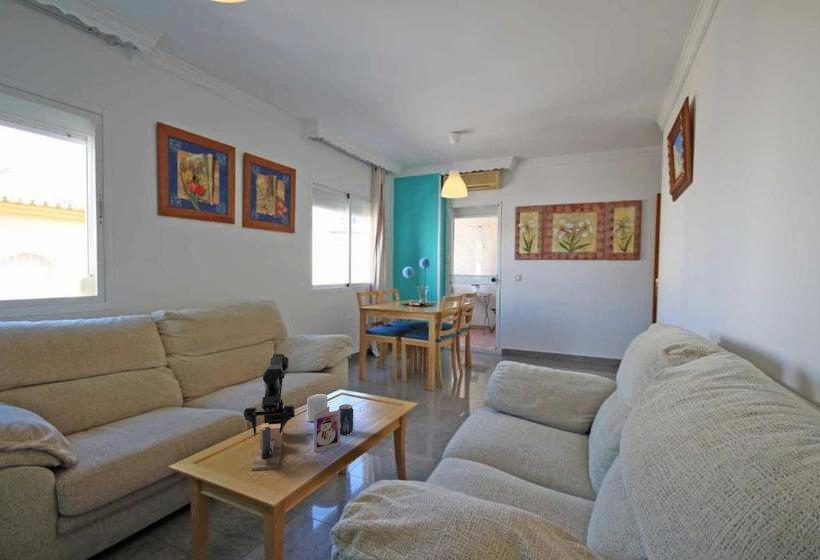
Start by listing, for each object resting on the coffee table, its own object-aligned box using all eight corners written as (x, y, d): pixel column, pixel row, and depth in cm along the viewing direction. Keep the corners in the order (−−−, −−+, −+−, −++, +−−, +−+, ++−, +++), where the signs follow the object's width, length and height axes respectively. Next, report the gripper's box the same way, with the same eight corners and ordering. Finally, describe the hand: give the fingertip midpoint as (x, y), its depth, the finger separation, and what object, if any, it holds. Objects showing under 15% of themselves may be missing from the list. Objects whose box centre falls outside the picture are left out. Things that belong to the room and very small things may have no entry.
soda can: (347, 428, 177) (347, 402, 177) (356, 432, 172) (356, 406, 172) (334, 432, 172) (335, 406, 172) (343, 437, 167) (344, 410, 167)
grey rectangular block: (264, 449, 152) (264, 439, 152) (275, 448, 153) (275, 438, 153) (261, 459, 144) (261, 448, 144) (272, 458, 145) (273, 447, 145)
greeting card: (314, 452, 152) (315, 416, 152) (307, 445, 158) (308, 410, 158) (340, 445, 159) (341, 410, 159) (333, 439, 165) (333, 405, 165)
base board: (260, 445, 157) (260, 443, 157) (283, 444, 159) (283, 441, 159) (251, 470, 138) (251, 467, 138) (277, 468, 140) (277, 465, 140)
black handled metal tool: (268, 443, 156) (268, 413, 156) (275, 442, 157) (275, 413, 156) (261, 462, 140) (261, 430, 140) (269, 462, 141) (269, 429, 140)
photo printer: (325, 415, 192) (325, 391, 191) (328, 418, 188) (328, 394, 188) (305, 420, 186) (305, 395, 186) (308, 423, 182) (308, 397, 182)
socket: (261, 443, 157) (262, 424, 157) (282, 442, 159) (282, 423, 159) (260, 448, 153) (260, 429, 153) (280, 447, 154) (281, 427, 154)
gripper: (244, 387, 148) (238, 427, 137) (294, 385, 152) (291, 423, 141) (248, 400, 156) (242, 439, 145) (295, 398, 160) (293, 435, 149)
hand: (267, 434), depth 145 cm, fingers open, 9 cm apart
